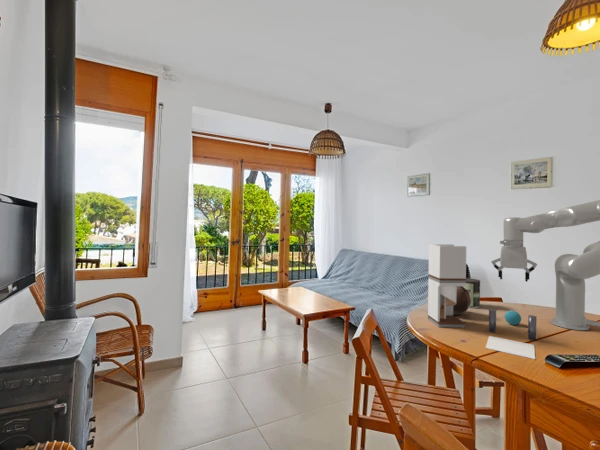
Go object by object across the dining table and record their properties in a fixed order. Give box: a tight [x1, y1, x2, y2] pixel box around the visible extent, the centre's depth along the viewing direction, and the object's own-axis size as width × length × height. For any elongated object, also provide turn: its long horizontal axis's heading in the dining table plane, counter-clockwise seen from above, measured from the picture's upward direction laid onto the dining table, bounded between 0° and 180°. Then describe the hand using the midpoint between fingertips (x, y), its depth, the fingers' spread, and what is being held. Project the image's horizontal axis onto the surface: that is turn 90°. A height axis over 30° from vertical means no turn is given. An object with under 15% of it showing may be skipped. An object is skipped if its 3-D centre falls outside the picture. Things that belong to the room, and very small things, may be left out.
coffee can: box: [462, 277, 481, 309], centre depth 161 cm, size 10×10×14 cm
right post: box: [527, 314, 538, 341], centre depth 115 cm, size 2×2×9 cm
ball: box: [504, 310, 522, 326], centre depth 131 cm, size 6×6×6 cm
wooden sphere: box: [453, 286, 471, 316], centre depth 146 cm, size 15×15×15 cm
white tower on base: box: [427, 243, 467, 328], centre depth 132 cm, size 11×11×35 cm
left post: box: [488, 308, 497, 333], centre depth 123 cm, size 2×2×9 cm
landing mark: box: [485, 335, 536, 360], centre depth 108 cm, size 14×14×1 cm
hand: (513, 280), depth 139 cm, fingers open, 9 cm apart
